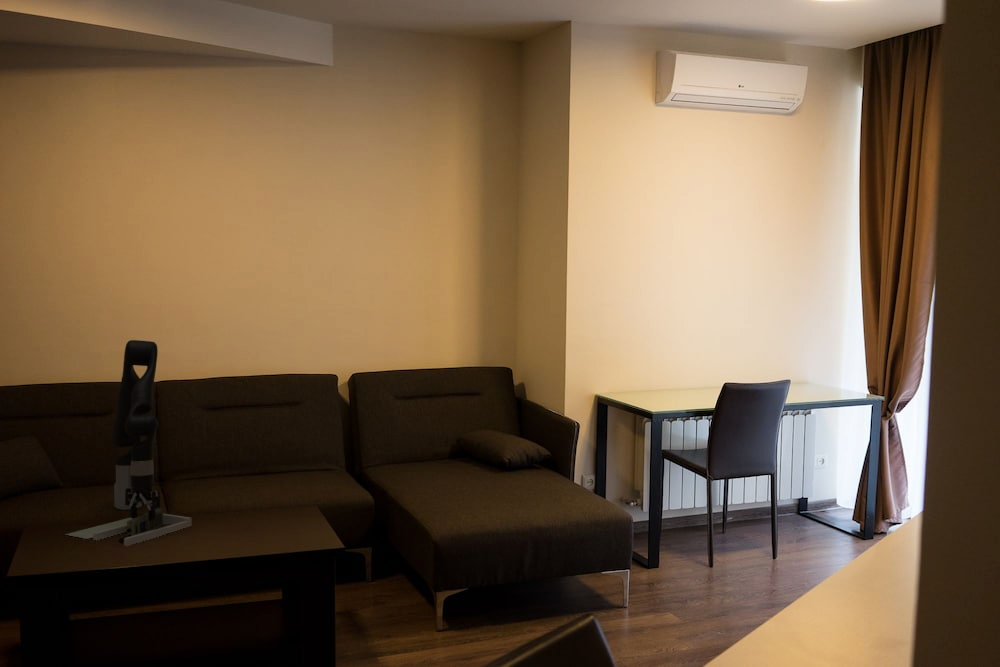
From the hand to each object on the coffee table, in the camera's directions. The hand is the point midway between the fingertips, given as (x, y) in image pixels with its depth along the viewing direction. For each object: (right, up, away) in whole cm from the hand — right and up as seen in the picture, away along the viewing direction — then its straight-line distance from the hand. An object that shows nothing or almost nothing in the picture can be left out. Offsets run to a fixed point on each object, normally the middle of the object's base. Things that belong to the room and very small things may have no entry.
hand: (142, 519), depth 317 cm
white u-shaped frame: (0, -5, 0) cm, 5 cm away
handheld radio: (-1, -6, 0) cm, 6 cm away
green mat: (-15, -5, +7) cm, 17 cm away
